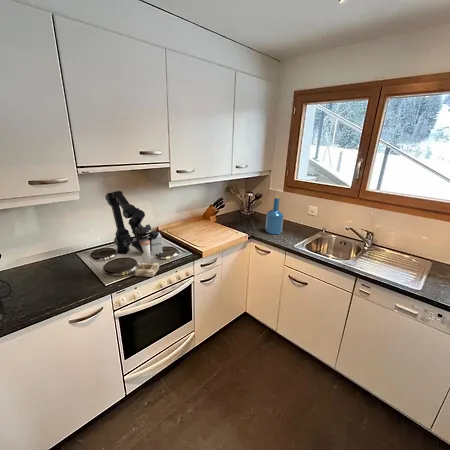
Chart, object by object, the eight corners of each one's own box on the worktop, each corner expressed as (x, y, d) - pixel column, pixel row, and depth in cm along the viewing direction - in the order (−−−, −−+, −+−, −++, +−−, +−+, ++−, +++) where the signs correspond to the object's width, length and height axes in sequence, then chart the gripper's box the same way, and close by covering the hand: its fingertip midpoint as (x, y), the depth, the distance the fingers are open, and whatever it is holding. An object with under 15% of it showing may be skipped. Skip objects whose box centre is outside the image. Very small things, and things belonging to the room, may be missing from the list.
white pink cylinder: (140, 263, 141) (139, 242, 136) (144, 259, 145) (142, 239, 141) (149, 263, 140) (148, 243, 136) (152, 259, 145) (151, 240, 141)
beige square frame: (135, 276, 141) (134, 270, 139) (142, 267, 150) (142, 262, 149) (153, 277, 140) (152, 272, 139) (159, 268, 149) (158, 263, 148)
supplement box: (151, 256, 164) (150, 237, 160) (148, 251, 170) (147, 233, 166) (162, 254, 167) (161, 236, 163) (160, 249, 173) (159, 232, 169)
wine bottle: (276, 228, 220) (280, 194, 210) (284, 234, 208) (289, 198, 198) (262, 230, 216) (265, 194, 206) (269, 235, 204) (273, 198, 194)
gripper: (123, 223, 132) (134, 250, 128) (156, 217, 144) (167, 241, 140) (118, 233, 140) (129, 259, 136) (150, 226, 152) (160, 249, 148)
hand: (147, 252), depth 140 cm, fingers closed on white pink cylinder, 4 cm apart
